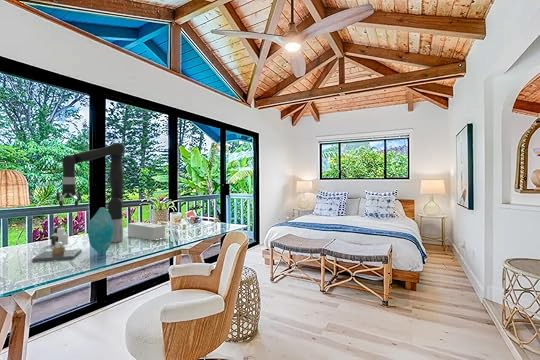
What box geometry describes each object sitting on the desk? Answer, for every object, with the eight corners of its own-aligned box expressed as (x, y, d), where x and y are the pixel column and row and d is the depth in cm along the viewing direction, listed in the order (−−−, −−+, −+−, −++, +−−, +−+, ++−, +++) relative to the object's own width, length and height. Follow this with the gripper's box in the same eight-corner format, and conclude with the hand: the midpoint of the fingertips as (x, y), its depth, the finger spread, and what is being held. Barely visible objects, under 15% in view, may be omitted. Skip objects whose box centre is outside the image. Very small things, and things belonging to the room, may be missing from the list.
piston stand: (81, 252, 183) (81, 238, 183) (73, 259, 168) (73, 244, 168) (44, 254, 176) (44, 240, 176) (32, 262, 161) (32, 246, 161)
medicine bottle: (50, 244, 200) (51, 228, 200) (61, 242, 207) (61, 226, 207) (57, 245, 198) (58, 229, 198) (68, 243, 205) (68, 227, 205)
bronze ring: (66, 252, 176) (66, 245, 176) (62, 254, 170) (62, 248, 170) (54, 252, 174) (54, 246, 174) (50, 255, 168) (50, 248, 168)
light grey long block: (127, 236, 232) (127, 223, 232) (138, 234, 241) (139, 221, 241) (153, 241, 217) (154, 227, 217) (165, 238, 226) (165, 225, 226)
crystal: (90, 252, 182) (90, 206, 182) (114, 251, 187) (114, 206, 186) (85, 258, 171) (85, 209, 170) (111, 256, 176) (111, 208, 175)
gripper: (82, 183, 203) (82, 205, 203) (59, 183, 198) (58, 206, 198) (79, 183, 196) (79, 206, 196) (54, 183, 191) (54, 207, 191)
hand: (68, 206), depth 197 cm, fingers open, 8 cm apart
